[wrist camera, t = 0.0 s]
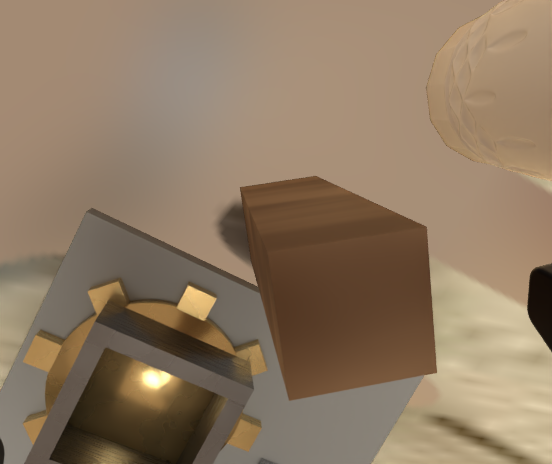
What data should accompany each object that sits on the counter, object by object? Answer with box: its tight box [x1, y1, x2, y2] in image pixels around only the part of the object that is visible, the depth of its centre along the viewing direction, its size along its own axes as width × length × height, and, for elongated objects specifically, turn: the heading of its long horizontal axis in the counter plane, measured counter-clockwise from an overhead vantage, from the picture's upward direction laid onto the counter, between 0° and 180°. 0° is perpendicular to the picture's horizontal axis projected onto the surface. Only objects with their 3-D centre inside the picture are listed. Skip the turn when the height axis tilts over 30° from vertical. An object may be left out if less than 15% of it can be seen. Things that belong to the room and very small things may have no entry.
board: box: [0, 208, 424, 464], centre depth 24 cm, size 15×18×1 cm
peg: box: [240, 176, 437, 401], centre depth 17 cm, size 4×4×12 cm
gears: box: [23, 278, 276, 464], centre depth 22 cm, size 14×16×3 cm
